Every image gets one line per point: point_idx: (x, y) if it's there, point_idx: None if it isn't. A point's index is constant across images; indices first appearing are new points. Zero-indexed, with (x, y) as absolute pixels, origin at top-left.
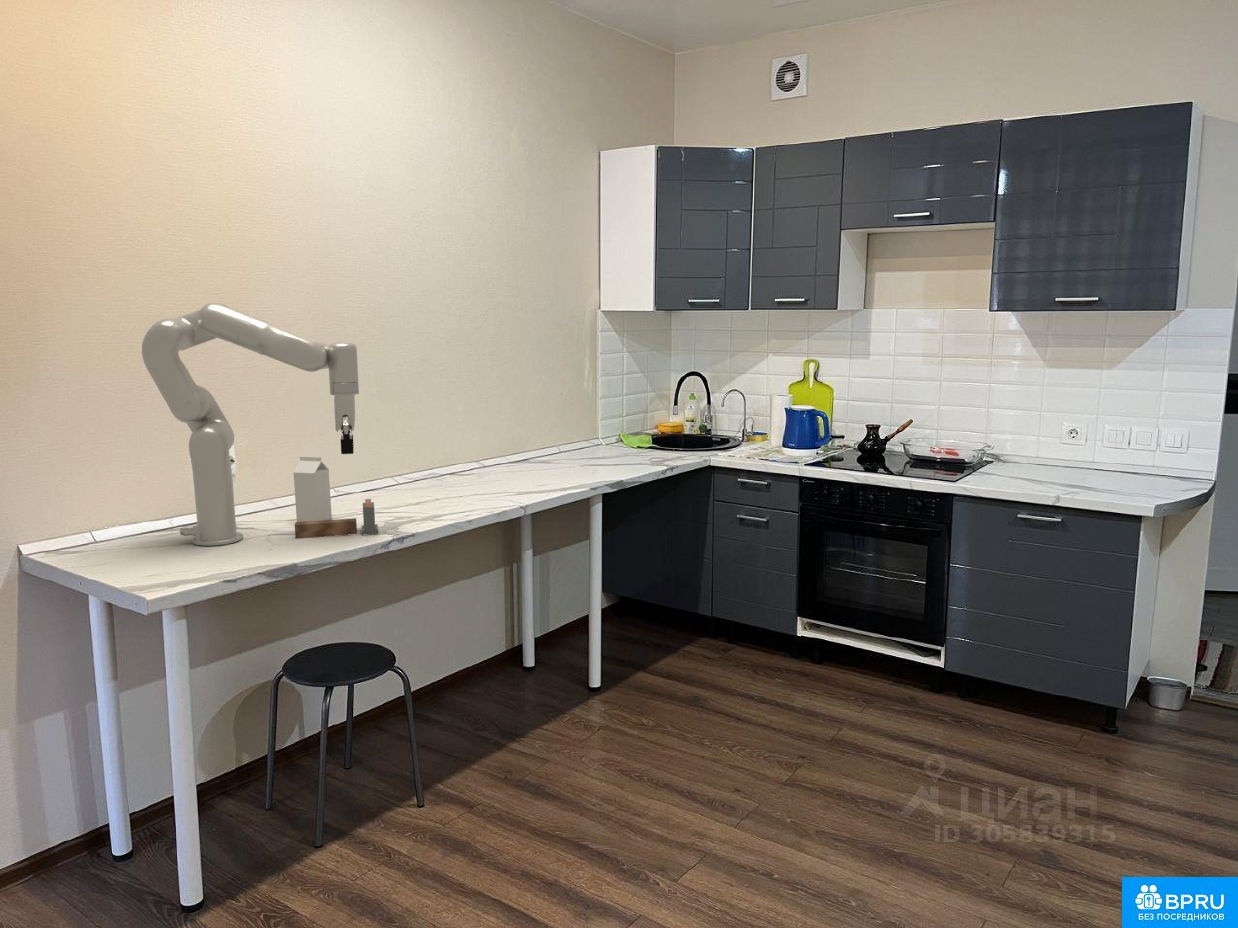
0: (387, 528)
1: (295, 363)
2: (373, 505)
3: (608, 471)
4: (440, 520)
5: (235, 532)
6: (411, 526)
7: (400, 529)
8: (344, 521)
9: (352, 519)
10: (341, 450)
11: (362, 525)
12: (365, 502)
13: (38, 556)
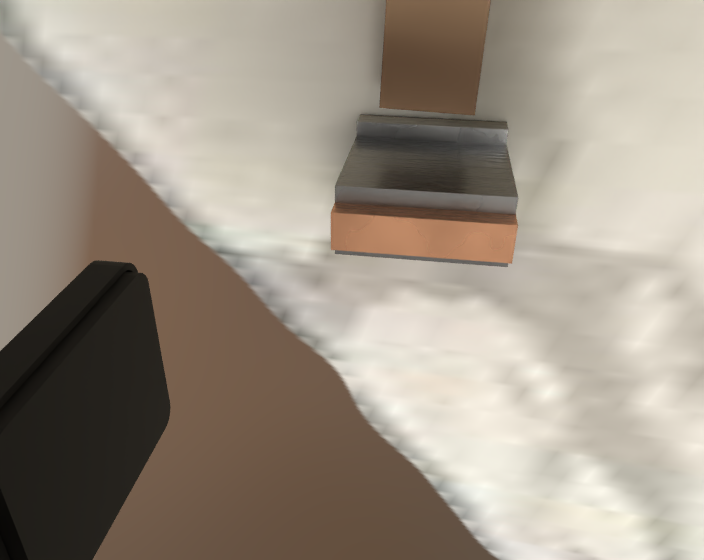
0: None
1: None
2: (387, 254)
3: None
4: (542, 470)
5: None
6: (470, 354)
7: (423, 303)
8: (402, 33)
9: (446, 89)
10: (72, 292)
11: (500, 135)
12: (384, 217)
13: None
